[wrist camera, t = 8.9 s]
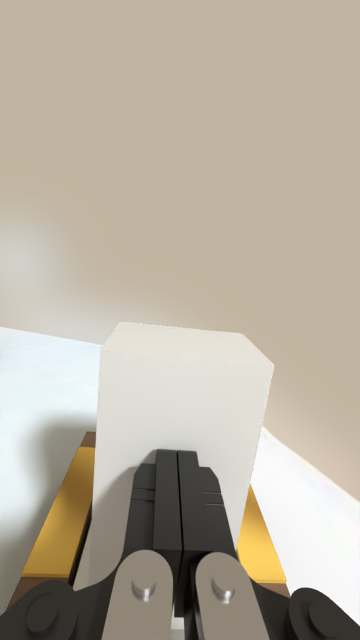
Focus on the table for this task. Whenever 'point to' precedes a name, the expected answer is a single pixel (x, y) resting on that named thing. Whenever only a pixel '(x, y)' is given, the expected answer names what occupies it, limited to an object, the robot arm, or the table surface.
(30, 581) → the switch housing
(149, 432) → the switch tab
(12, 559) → the table surface
